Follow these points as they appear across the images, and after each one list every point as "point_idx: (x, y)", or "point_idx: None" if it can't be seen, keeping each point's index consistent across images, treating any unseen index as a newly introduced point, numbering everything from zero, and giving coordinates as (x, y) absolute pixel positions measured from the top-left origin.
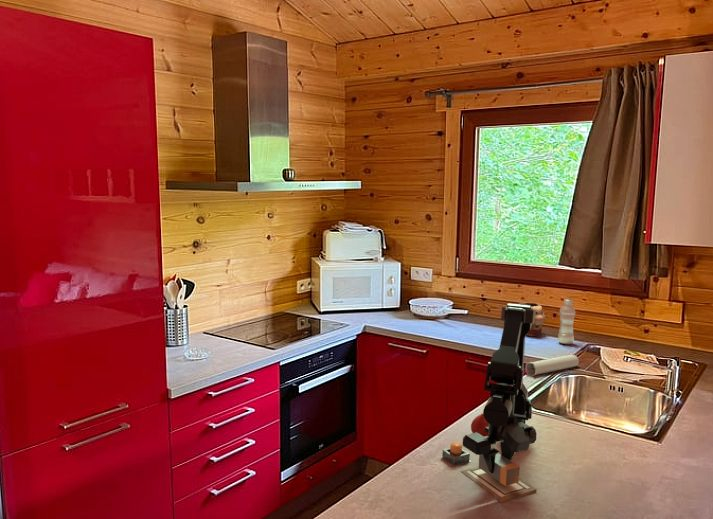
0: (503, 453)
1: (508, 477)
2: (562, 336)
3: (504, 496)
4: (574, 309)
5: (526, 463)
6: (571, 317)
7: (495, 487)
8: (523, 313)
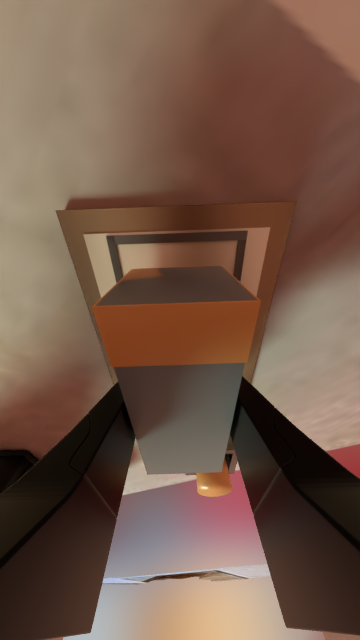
0: (126, 451)
1: (213, 278)
2: None
3: (253, 222)
4: None
5: (22, 381)
6: None
7: None
8: None
